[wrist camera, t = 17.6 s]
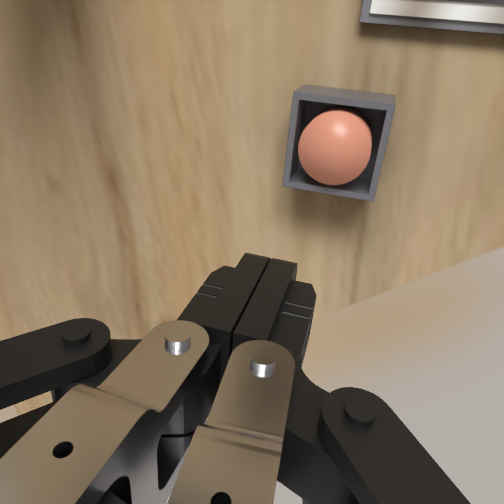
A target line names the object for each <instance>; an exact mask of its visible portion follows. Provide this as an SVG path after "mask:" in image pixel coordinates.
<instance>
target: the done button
mask: <svg viewBox="0 0 504 504" xmlns="http://www.w3.org/2000/svg"><path fill="white" fill-rule="evenodd" d="M372 142H373V131H372V127H371V124H370V122H369V120H368V118H367V117H366V116H365V115H364V114H363V113H362V112H361V111H360V110H358V109H356V108H354V107H352V106H347V105H334V106H330V107H327V108H326V109H324V110H322V111H321V112H319V113H318V114H317V115H316V116H315V118H314V119H313V120H312V121H311V122H310V123H309V124H308V126H307V127H306V128H305V129H304V131H303V133H302V135H301V137H300V140H299V145H298V155H299V159H300V162H301V165H302V167H303V168H304V170H305V171H306V172H307V174H308V175H309V176H310V177H312V178H313V179H315V180H316V181H318V182H320V183H323V184H327V185H340V184H345V183H347V182H350V181H352V180H353V179H355V178H356V177H358V176H359V175H360V174H361V173H362V172H363V170H364V169H365V167H366V166H367V164H368V161H369V158H370V154H371V148H372Z"/></svg>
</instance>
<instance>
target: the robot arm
mask: <svg viewBox="0 0 504 504" xmlns="http://www.w3.org/2000/svg"><path fill="white" fill-rule="evenodd" d="M296 274H297V263H294V262H289V261H284V260H279V259H274V258H272V259H271V258H269V257H264V256H259V255H254V254H249V253H245V254H244V255H243V257H242V258H241V260H240V262H239V263H238V265H237V266H236V268H233V267H228V266H223V267H221V268H219V269H217V270H216V271H214V272H212V273H211V274H210V275H209V276H208V278H207V279H206V281H205V282H204V284H203V285H202V286H201V287H200V289H199V290H198V293H197V294H195V296H194V297H193V298H192V300H191V301H190V303H189V304H188V305H187V307H186V308H185V309H184V311H183V312H182V314H181V315H180V316H179V318H178V319H177V320H175V321H169V322H165V323H162V324H160V325H158V326H156V327H155V328H153V329H152V330H151V331H150V332H149V333H148V334H147V335H146V336H145V337H144V338H143V339H140V340H118V339H111V337H110V330H109V328H108V327H107V326H106V325H105V324H104V323H103V322H101V321H98V320H95V319H89V318H80V319H72V320H69V321H65V322H62V323H58V324H55V325H52V326H49V327H45V328H42V329H39V330H35V331H32V332H29V333H25V334H22V335H19V336H16V337H12V338H9V339H6V340H2V341H0V410H1V409H3V408H6V407H9V406H11V405H14V404H17V403H19V402H22V401H24V400H27V399H30V398H32V397H35V396H38V395H40V394H43V393H45V392H48V391H51V394H52V399H53V402H52V403H50V404H47V405H45V406H42V407H40V408H37V409H35V410H32V411H30V412H27V413H25V414H22V415H20V416H17V417H14V418H12V419H9V420H7V421H4V422H2V423H0V504H165V503H166V501H167V499H168V497H169V495H170V493H171V495H170V498H169V500H168V503H167V504H273V500H274V494H275V488H276V482H277V481H279V482H281V483H282V484H283V485H284V486H286V487H287V488H289V489H290V490H292V491H293V492H294V493H296V494H297V495H299V496H300V497H301V498H302V500H303V504H470V502H469V501H468V500H467V499H466V498H465V496H464V495H463V494H462V493H461V492H460V490H459V489H458V488H457V487H456V486H455V484H454V483H453V482H452V481H451V480H450V479H449V477H448V476H447V475H446V474H445V473H444V471H443V470H442V469H441V468H440V467H439V465H438V464H437V463H436V462H435V461H434V459H433V458H432V457H431V456H430V455H429V454H428V452H427V451H426V450H425V449H424V447H423V446H422V445H421V444H420V443H419V441H417V439H416V438H415V437H414V436H413V434H412V433H411V432H410V431H409V430H408V428H407V427H406V426H405V425H404V424H403V422H402V421H401V420H400V419H399V418H398V416H397V415H396V414H395V413H394V412H393V410H392V409H391V408H390V407H389V406H388V405H387V404H386V403H385V402H384V401H383V400H382V399H381V398H379V397H378V396H376V395H375V394H373V393H371V392H369V391H366V390H363V389H359V388H353V387H344V388H339V389H336V390H334V391H332V392H331V393H329V392H327V391H325V390H323V389H321V388H320V387H318V386H316V385H315V384H314V383H313V382H311V381H310V380H309V379H308V378H307V377H306V375H305V374H304V373H303V370H302V368H301V367H302V363H303V359H304V355H305V352H306V348H307V344H308V340H309V335H310V329H311V324H312V318H313V312H314V307H315V301H316V293H315V291H314V289H313V286H312V284H309V283H304V282H299V281H295V280H296ZM209 413H210V414H209ZM208 415H209V416H208ZM207 417H208V419H207ZM206 419H207V422H206Z"/></svg>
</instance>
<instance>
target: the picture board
mask: <svg viewBox="0 0 504 504" xmlns="http://www.w3.org/2000/svg"><path fill="white" fill-rule="evenodd" d="M360 22H364V23H376V24H388V25H400V26H412V27H424V28H436V29H448V30H459V31H471V32H483V33H495V34H504V0H364V1H363V6H362V12H361V18H360Z"/></svg>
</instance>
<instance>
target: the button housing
mask: <svg viewBox="0 0 504 504" xmlns="http://www.w3.org/2000/svg"><path fill="white" fill-rule="evenodd" d="M334 105H347V106H352V107H354V108H356V109H358V110H360V111H361V112H362V113H363V114H364V115H365V116H366V117H367V118H368V120H369V122H370V124H371V127H372V131H373V142H372V148H371V154H370V158H369V161H368V164H367V166H366V167H365V169H364V170H363V172H362V173H361V174H360V175H359V176H358V177H356V178H355V179H353V180H352V181H350V182H347V183H345V184H340V185H327V184H323V183H320V182H318V181H316V180H315V179H313V178H312V177H310V176H309V175H308V174H307V172H306V171H305V170H304V168H303V167H302V165H301V162H300V159H299V155H298V145H299V140H300V137H301V135H302V133H303V131H304V129H305V128H306V127H307V126H308V124H309V123H310V122H311V121H312V120H313V119H314V118H315V116H316V115H317V114H318V113H319V112H321V111H322V110H324V109H326V108H327V107H330V106H334ZM395 105H396V103H395V95H389V94H380V93H371V92H363V91H354V90H346V89H337V88H329V87H320V86H312V85H303V86H302V87H300V88H299V89H297V90H296V91H294V92H293V100H292V108H291V117H290V126H289V134H288V143H287V151H286V160H285V169H284V177H283V186H284V187H290V188H296V189H302V190H308V191H314V192H320V193H326V194H332V195H338V196H344V197H349V198H355V199H361V200H367V201H373V202H374V198H375V193H376V189H377V184H378V180H379V175H380V171H381V167H382V162H383V158H384V153H385V149H386V144H387V140H388V136H389V131H390V127H391V122H392V118H393V113H394V109H395Z"/></svg>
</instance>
